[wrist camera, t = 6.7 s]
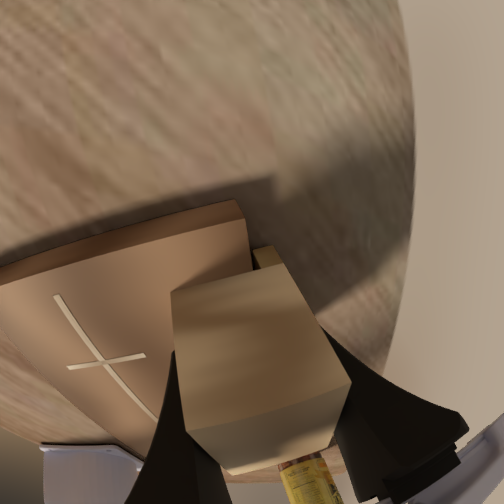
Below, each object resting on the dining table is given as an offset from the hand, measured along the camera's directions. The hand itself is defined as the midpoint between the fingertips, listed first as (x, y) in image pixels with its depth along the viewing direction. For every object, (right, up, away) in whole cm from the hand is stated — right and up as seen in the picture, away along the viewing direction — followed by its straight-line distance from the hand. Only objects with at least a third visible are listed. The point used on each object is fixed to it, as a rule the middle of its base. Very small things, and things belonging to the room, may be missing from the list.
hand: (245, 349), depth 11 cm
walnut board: (-4, -5, +5) cm, 8 cm away
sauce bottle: (+6, -24, +21) cm, 32 cm away
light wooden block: (0, +1, +2) cm, 2 cm away
